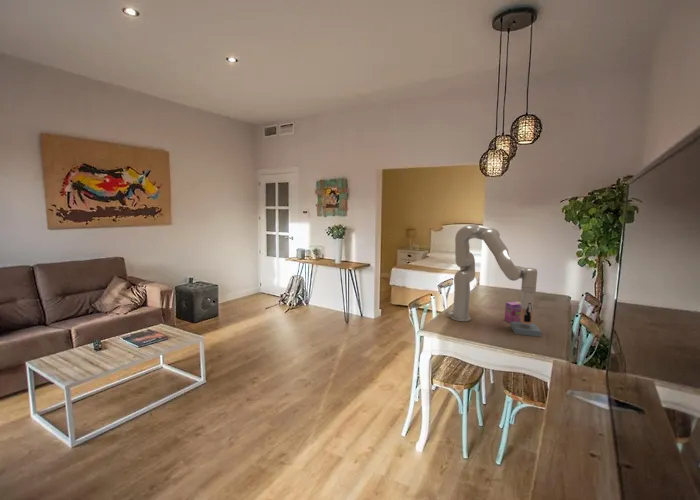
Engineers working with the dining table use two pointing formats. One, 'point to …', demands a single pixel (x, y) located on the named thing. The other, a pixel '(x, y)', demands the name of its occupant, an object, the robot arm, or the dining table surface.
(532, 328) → the base
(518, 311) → the box
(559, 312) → the dining table surface
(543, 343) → the dining table surface
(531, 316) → the block
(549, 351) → the dining table surface
